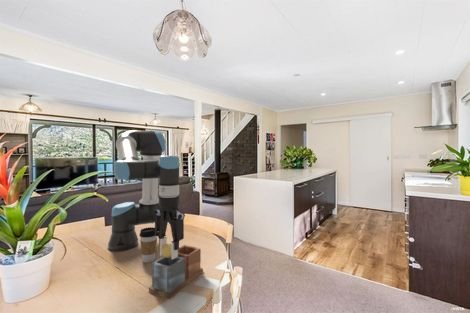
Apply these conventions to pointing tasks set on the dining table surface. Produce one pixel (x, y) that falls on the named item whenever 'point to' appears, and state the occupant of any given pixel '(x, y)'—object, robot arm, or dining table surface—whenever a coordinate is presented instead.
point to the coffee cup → (148, 244)
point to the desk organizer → (175, 271)
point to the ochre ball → (166, 251)
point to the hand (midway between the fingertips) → (168, 256)
